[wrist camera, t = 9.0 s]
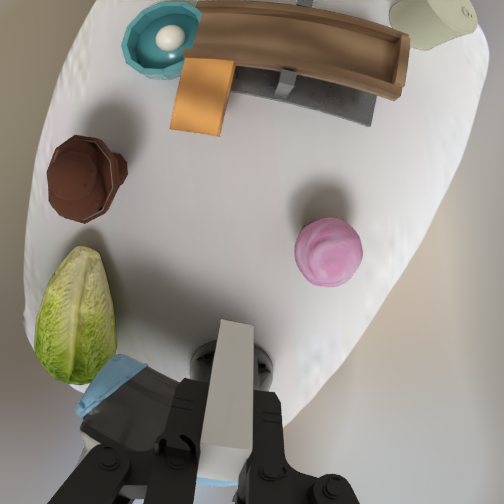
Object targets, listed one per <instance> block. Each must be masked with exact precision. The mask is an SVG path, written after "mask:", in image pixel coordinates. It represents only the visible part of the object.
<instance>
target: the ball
mask: <svg viewBox="0 0 504 504" xmlns="http://www.w3.org/2000/svg"><path fill="white" fill-rule="evenodd" d="M184 41H185V33H184V31H183V29H182V28H180V27H179V26H176V25H168V26H165V27H163V28H162V29H160V30H159V32H158V33H157V35H156V44H157V46H158V47H159V48H160V49H162V50H164V51H174V50H177V49H178V48H180V47H181V46H182V45H183V43H184Z"/></svg>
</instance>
